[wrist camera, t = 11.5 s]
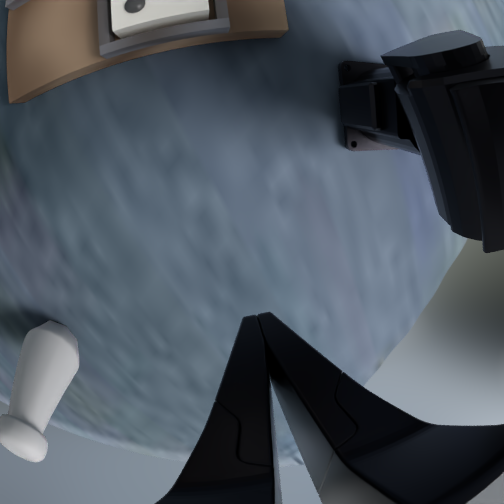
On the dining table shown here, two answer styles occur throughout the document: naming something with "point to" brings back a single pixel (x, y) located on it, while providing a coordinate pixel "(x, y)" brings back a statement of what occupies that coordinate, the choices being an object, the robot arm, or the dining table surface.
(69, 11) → the board
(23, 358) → the salt shaker
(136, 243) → the dining table surface
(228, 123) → the dining table surface
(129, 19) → the tile two
